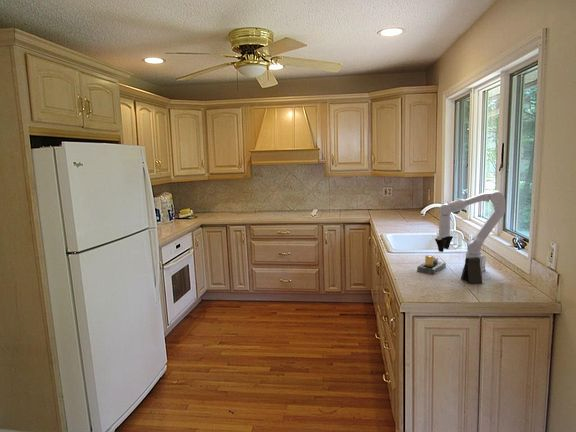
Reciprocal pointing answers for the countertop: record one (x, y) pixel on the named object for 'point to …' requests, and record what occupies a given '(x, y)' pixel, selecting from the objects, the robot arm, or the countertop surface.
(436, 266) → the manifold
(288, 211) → the countertop surface
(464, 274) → the phone stand
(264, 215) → the countertop surface
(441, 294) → the countertop surface
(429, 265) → the cylinder
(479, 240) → the robot arm
